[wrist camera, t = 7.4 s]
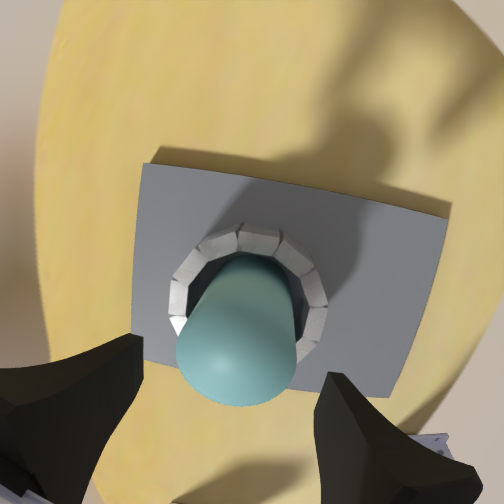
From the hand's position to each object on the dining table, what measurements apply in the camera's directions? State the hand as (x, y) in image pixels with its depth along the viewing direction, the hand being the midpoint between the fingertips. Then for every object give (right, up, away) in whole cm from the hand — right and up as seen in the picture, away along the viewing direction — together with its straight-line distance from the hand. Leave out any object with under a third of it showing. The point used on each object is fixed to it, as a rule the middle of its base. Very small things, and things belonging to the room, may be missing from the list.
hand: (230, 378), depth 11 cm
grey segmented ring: (+1, +2, +10) cm, 10 cm away
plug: (+1, +2, +9) cm, 9 cm away
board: (+3, +2, +10) cm, 11 cm away
